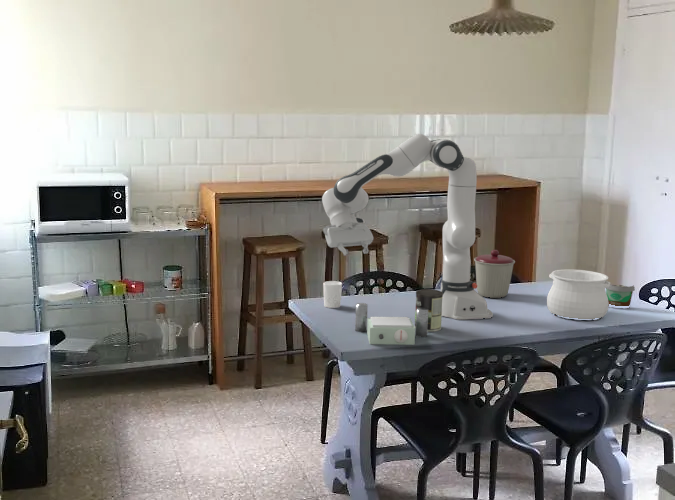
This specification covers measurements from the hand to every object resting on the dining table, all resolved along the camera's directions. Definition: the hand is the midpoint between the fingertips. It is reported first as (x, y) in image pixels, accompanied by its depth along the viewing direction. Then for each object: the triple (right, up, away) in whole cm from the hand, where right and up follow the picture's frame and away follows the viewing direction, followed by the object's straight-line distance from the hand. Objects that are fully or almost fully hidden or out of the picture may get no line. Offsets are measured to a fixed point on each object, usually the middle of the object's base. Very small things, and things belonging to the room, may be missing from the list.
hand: (356, 253), depth 302 cm
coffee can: (+27, -29, -4) cm, 40 cm away
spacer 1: (+1, -29, -8) cm, 30 cm away
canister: (+63, -19, +50) cm, 82 cm away
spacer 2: (+24, -30, -14) cm, 41 cm away
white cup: (-10, -22, +26) cm, 35 cm away
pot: (+92, -26, +20) cm, 97 cm away
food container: (+113, -24, +33) cm, 120 cm away
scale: (+12, -31, -19) cm, 38 cm away
